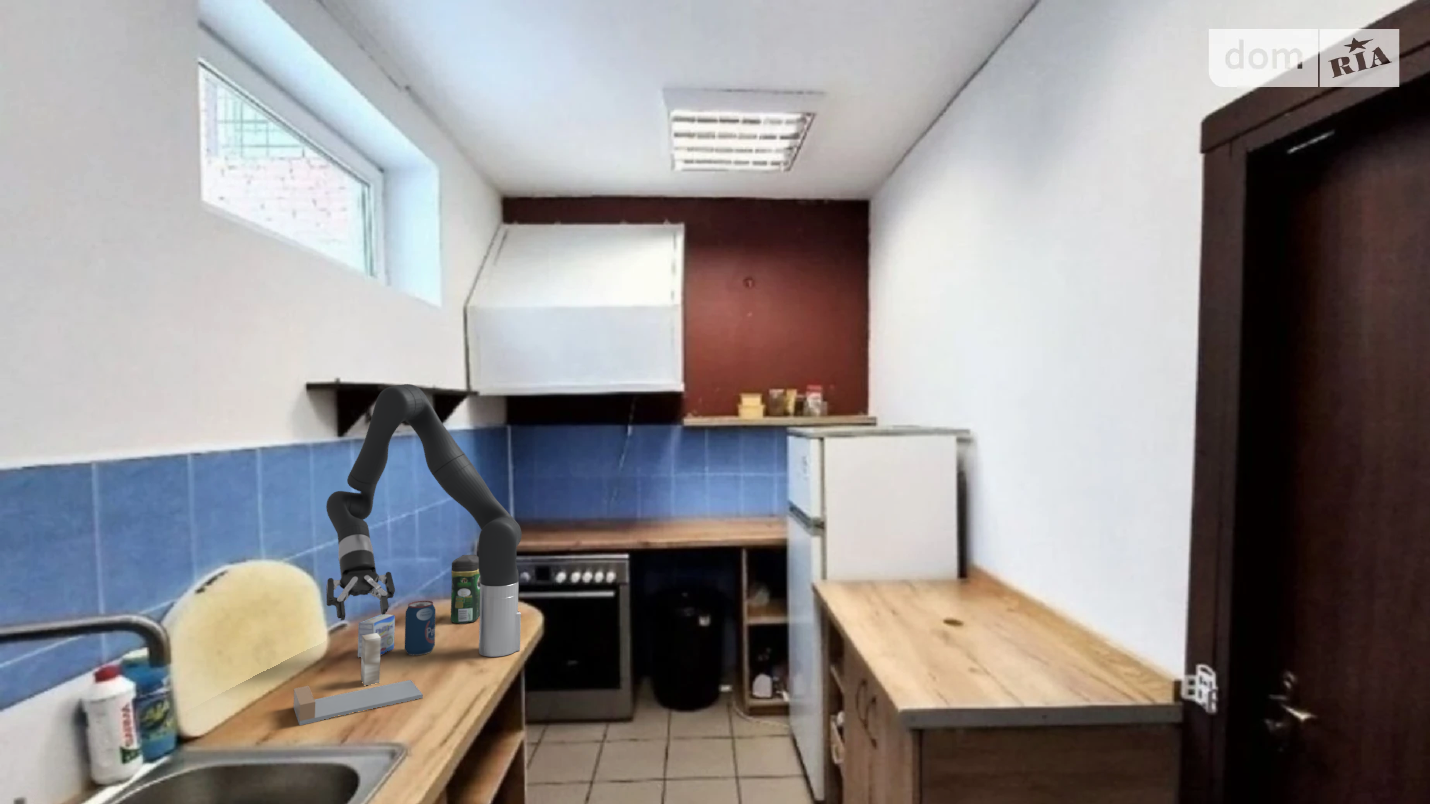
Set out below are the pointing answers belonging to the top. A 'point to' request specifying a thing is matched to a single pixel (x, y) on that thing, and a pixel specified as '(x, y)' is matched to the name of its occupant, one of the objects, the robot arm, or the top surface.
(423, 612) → the soda can
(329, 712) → the underlay board
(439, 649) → the top surface
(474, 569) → the coffee jar
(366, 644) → the beige long rectangular block
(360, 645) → the medicine box
